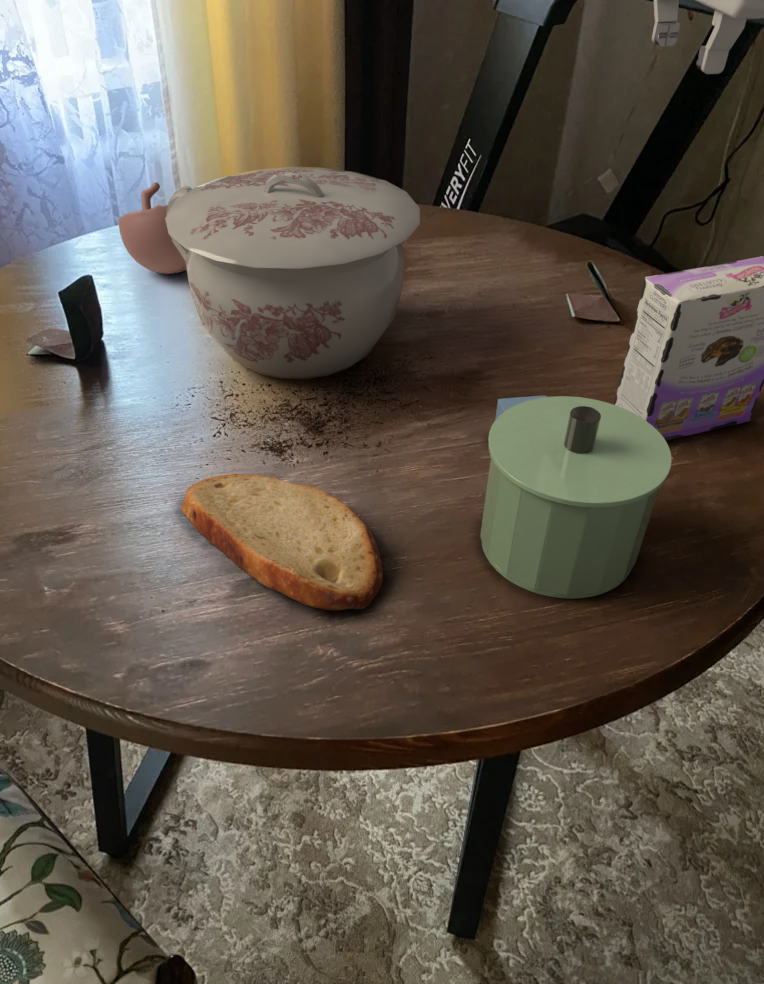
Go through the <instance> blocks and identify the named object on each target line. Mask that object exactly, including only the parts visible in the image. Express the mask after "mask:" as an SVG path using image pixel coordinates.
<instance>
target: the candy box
mask: <svg viewBox="0 0 764 984" xmlns="http://www.w3.org/2000/svg"><path fill="white" fill-rule="evenodd" d="M632 326H633V327H632V329H631V334H630V338H629V342H628V346H627V350H626V354H625V356H624V361H623V366H622V371H621V374H620V378H619V382H618V387H617V390H616V394H615V398H614V401H613V405H616V406H619V407H621V408H624V409H626V410H628V411H630V412H632V413H634V414H636V415H638V416H639V417H641V418H643V419H644V420H646V421H647V422H648V423H650V424H651V425H652V426H653V427H654V428H655V429H657V430H658V431H659V433H660V434H661V435H662V436H663V437H664V439H665V441H666V442H667V441H671V440H675V439H679V438H684V437H688V436H692V435H697V434H701V433H705V432H709V431H715V430H718V429H721V428H722V429H723V428H726V427H732V426H736V425H739V424H744V423H748V422H750V421H751V419H752V416H753V413H754V410H755V408H756V406H757V405H756V404H757V402H758V399H759V397H760V395H761V391H762V388H763V385H764V256H763V255H761V256H757V257H752V258H747V259H746V258H745V259H742V260H741V259H740V260H736V261H731V262H725V263H724V262H723V263H720V264H713V265H708V266H702V267H696V268H690V269H684V270H680V271H673V272H668V273H662V274H655V275H649V276H645V277H644V281H643V285H642V289H641V293H640V297H639V301H638V305H637V309H636V314H635V318H634V321H633V325H632Z"/></svg>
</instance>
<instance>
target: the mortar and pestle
mask: <svg viewBox="0 0 764 984" xmlns="http://www.w3.org/2000/svg"><path fill="white" fill-rule="evenodd" d="M160 189H161V185H160V184H159V183H158V182H153V183H152V184H151V185H150V187H148V188H147V189H144V190H142V191H141V194H140V199H141V209H142V210H141V209H140V210H135V211H132V212H128V213H125V214H124V215H122V216H120V217H119V219H118V229H119V230H118V231H119V235H120V238H121V241H122V243H123V246H124V248H125V250H126V251H127V253H128V254H129V255H130V256H131V258H132V259H133V260H134V261H135V262H137V264H139V265H140V266H142V267H143V268H145V269H146V270H149V271H150V272H154V273H157V272H158V273H157V274H164V275H165V274H166V275H170V274H171V275H172V274H178V273H181V272H184V271H187V269H186V263H185V260H184V258H183V257H182V255H181V254H180V252H179V251H178V249H177V248H176V246H175V245H174V243H173V242H172V239H171V236H170V235H169V233H168V229H167V224H166V220H165V218H166V211H167V207H168V204H166V205H160V204H159V205H155V206H153V207H152V204H151V203H152V202H151V200H152V198H153V196H154V195H155V194H156V193H158V192H159V191H160ZM175 272H176V273H175Z"/></svg>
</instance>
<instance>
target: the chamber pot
mask: <svg viewBox="0 0 764 984" xmlns="http://www.w3.org/2000/svg"><path fill="white" fill-rule="evenodd" d="M167 205H168V207H167V211H166V218H165V220H166V224H167V229H168V233H169V235H170V236H171V239H172V242H173V243H174V245H175V246H176V248H177V249H178V251H179V252H180V254H181V255H182V257H183V258H184V260H185V263H186V275H187V282H188V286H189V289H190V294H191V298H192V300H193V303H194V306H195V309H196V311H197V315H198V317H199V320H200V322H201V325H202V327H203V328H204V329H205V330H206V331H207V332H208V334H209V335H210V336H211V337H212V338H213V340H214V341H215V342H216V343H217V344H218V345H219V346H220V347H221V349H222V350H223V351H224V352H225V353H226V354H227V355H228V356H229V357H230V358H231V359H232V360H233V361H234V362H235V363H237V364H238V365H240V366H242V367H244V368H245V369H248V370H250V371H252V372H254V373H256V374H259V375H264V376H266V377H273V378H277V379H289V380H290V379H291V380H305V379H306V380H307V379H308V380H309V379H314V378H320V377H321V378H322V377H328V376H331V375H333V374H337V373H339V372H342V371H346V370H348V369H349V368H351V367H353V366H355V365H356V364H357V363H359V362H360V361H362V360H363V359H365V358H366V357H367V356H368V355H369V354H370V352H371V351H372V349H374V347H375V346H376V344H377V343H378V341H380V339H381V337H382V336H383V335H384V333H385V332H386V330H387V329H388V327H389V326H390V325H391V324H392V322H393V321H394V319H395V318H396V316H397V312H398V309H399V304H400V300H401V297H402V293H403V290H404V289H403V288H404V276H405V274H404V273H405V252H406V251H405V249H404V247H403V245H402V244H403V243H404V242H406V241H407V240H408V239H409V238H410V236H411V235H412V234H413V233H414V232H415V231H416V229H417V228H418V227H419V226H420V225H421V208H420V206H419V205H418V204H417V203H416V202H415V201H414V199H413V198H412V197H411V195H410V194H409V193H408V192H407V191H406V190H404V189H402V188H400V187H398V186H396V185H395V184H393V183H391V182H389V181H388V180H385V179H382V178H377V177H374V176H371V175H368V174H365V173H361V172H357V171H350V170H343V169H335V168H328V167H319V166H317V167H315V166H283V167H271V168H262V169H254V170H248V171H245V172H239V173H234V174H229V175H225V176H221V177H218V178H216V179H213V180H211V181H207V182H205V183H201V184H200V185H197V186H195V187H193V188H192V187H191V186H190V185H189V186H188V185H184V186H183V187H180V188H178V190H176V191H174V193H173V194H172V196H171V197H170V199H169V201H168V203H167Z"/></svg>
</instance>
